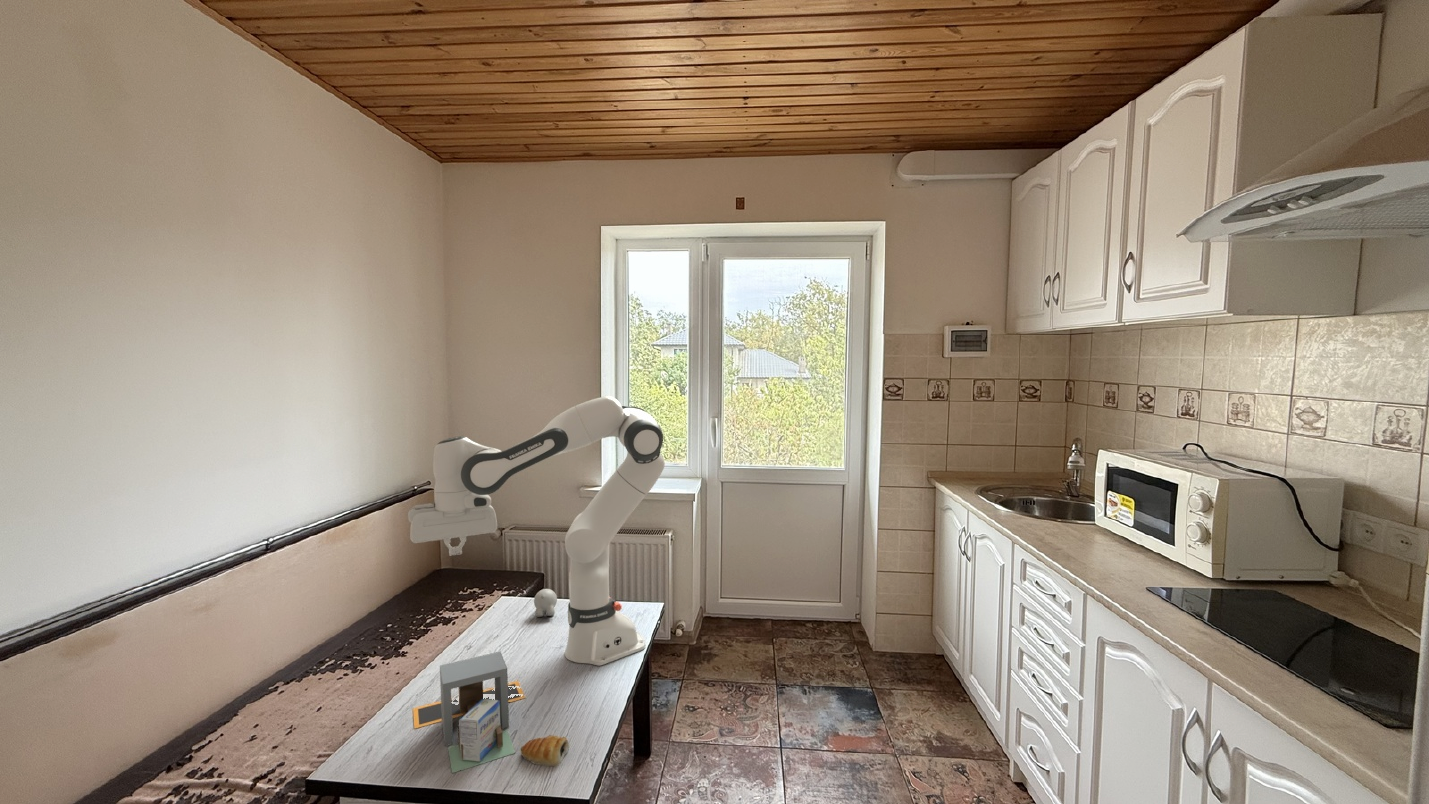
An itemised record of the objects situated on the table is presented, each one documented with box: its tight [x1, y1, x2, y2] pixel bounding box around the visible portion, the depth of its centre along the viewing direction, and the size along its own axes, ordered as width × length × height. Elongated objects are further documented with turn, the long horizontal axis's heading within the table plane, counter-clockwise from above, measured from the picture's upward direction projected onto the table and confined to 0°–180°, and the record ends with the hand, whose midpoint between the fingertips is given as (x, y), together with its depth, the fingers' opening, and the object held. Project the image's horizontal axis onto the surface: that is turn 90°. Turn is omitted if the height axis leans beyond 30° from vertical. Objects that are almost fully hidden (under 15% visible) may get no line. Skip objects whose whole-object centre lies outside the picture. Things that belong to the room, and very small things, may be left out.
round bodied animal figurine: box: [533, 588, 558, 618], centre depth 190 cm, size 7×12×8 cm, turn 10°
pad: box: [447, 729, 516, 774], centre depth 121 cm, size 12×9×1 cm
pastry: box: [520, 734, 570, 767], centre depth 119 cm, size 9×7×4 cm
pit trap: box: [412, 680, 526, 730], centre depth 138 cm, size 24×9×1 cm, turn 119°
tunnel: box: [439, 651, 510, 747], centre depth 129 cm, size 13×9×14 cm
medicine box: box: [458, 699, 501, 762], centre depth 121 cm, size 8×4×9 cm, turn 168°
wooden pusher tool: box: [457, 681, 503, 759], centre depth 128 cm, size 8×20×11 cm, turn 29°
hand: (455, 554), depth 147 cm, fingers closed
